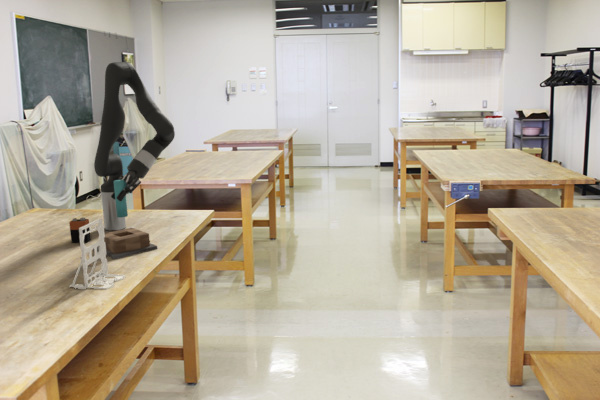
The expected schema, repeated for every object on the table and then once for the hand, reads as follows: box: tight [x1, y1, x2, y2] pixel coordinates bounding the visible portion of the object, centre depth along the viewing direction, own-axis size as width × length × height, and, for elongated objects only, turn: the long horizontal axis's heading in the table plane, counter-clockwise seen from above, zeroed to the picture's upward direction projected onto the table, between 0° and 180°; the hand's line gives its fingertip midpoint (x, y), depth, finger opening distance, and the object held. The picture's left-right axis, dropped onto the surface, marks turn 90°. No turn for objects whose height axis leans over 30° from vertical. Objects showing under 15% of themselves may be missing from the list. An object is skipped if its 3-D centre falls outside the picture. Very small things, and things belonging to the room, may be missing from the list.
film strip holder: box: [69, 218, 126, 290], centre depth 191 cm, size 14×14×20 cm
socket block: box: [92, 227, 158, 260], centre depth 229 cm, size 18×18×6 cm
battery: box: [69, 217, 92, 244], centre depth 242 cm, size 4×7×10 cm, turn 90°
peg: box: [114, 180, 129, 218], centre depth 226 cm, size 4×4×14 cm
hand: (115, 198), depth 225 cm, fingers closed on peg, 4 cm apart
